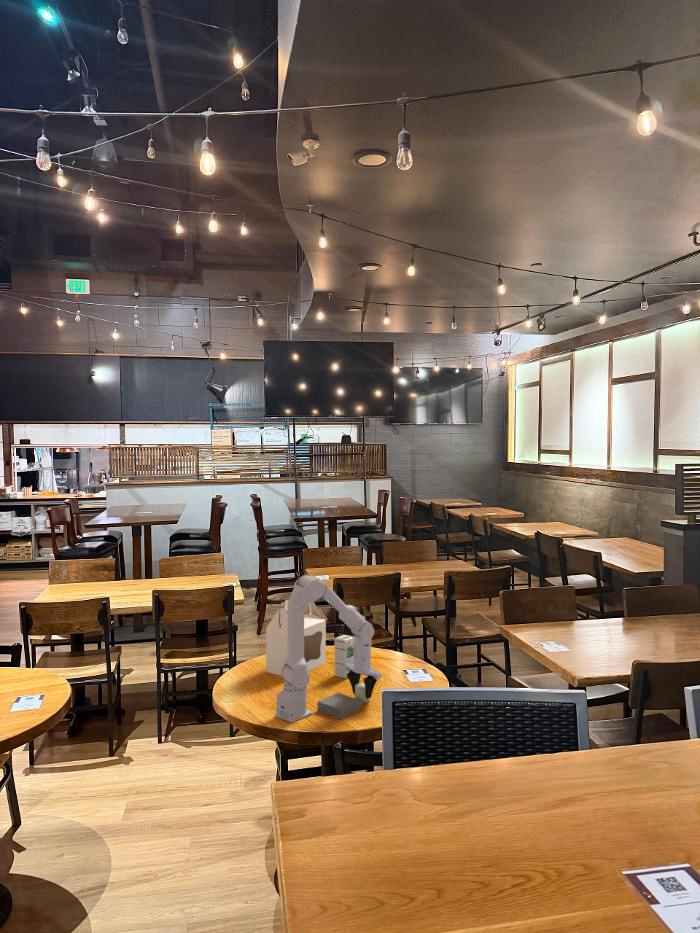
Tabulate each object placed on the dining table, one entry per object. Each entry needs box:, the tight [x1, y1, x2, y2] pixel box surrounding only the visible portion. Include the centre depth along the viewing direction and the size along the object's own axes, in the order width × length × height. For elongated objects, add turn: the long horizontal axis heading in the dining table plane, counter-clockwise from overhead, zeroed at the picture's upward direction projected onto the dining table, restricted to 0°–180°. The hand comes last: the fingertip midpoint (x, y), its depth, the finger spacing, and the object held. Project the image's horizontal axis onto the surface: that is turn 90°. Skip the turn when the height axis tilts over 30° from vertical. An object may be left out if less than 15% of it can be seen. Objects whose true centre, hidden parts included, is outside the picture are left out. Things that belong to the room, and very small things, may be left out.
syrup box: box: [333, 634, 354, 679], centre depth 234 cm, size 6×6×14 cm
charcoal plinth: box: [317, 692, 362, 720], centre depth 201 cm, size 10×10×3 cm
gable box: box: [265, 598, 327, 677], centre depth 242 cm, size 22×13×28 cm, turn 148°
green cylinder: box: [354, 682, 371, 704], centre depth 209 cm, size 5×5×5 cm
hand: (362, 695), depth 209 cm, fingers closed on green cylinder, 5 cm apart
